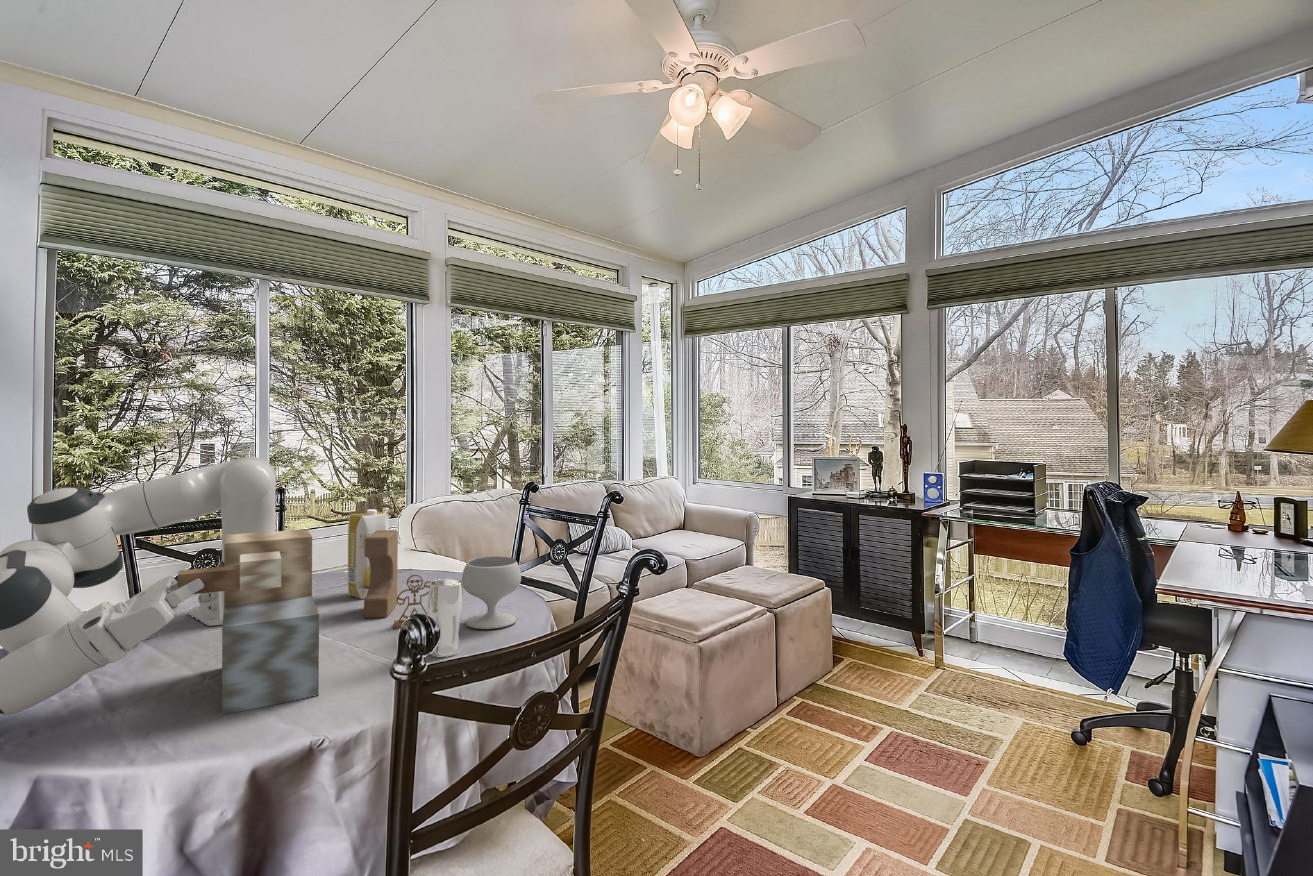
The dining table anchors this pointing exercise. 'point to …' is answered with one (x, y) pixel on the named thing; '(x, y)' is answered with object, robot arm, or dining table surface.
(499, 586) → the chalice
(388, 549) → the decorative block
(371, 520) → the juice carton
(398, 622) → the gingerbread man figurine
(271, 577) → the brown rectangular block
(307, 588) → the step stand
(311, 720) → the dining table surface
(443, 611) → the beer glass
